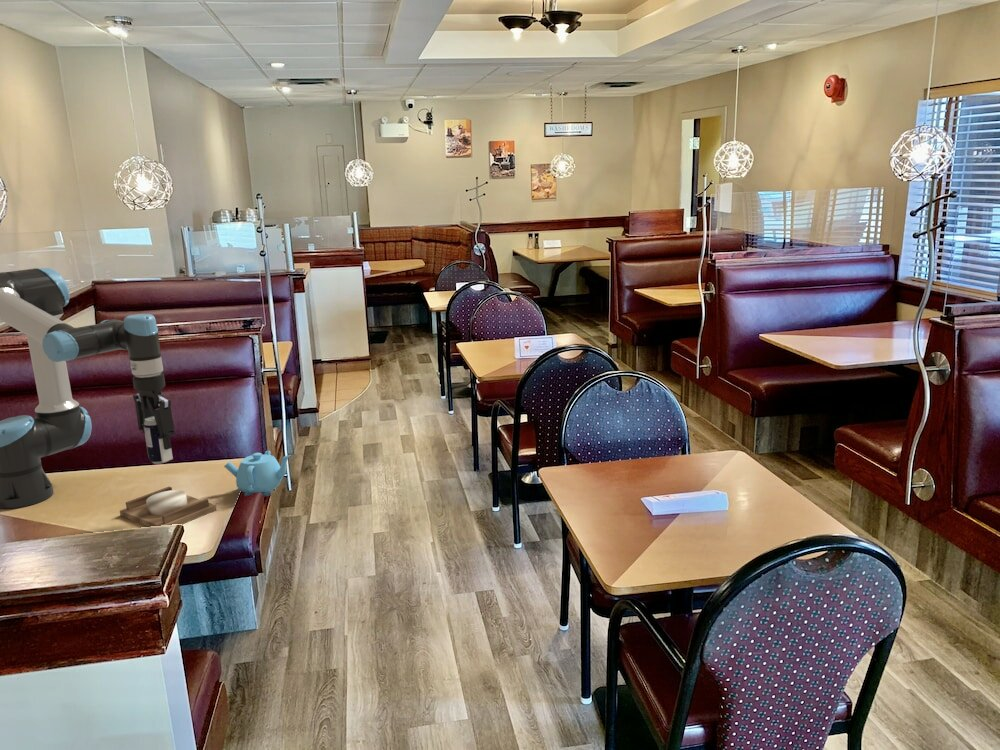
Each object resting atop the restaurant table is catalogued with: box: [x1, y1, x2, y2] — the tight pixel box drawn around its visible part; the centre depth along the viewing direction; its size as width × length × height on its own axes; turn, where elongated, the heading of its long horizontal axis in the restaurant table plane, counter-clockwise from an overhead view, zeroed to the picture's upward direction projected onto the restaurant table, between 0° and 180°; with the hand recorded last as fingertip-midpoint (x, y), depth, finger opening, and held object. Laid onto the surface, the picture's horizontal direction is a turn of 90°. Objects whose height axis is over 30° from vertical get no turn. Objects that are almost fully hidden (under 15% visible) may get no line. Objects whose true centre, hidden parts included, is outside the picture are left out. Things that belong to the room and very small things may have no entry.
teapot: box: [224, 450, 292, 497], centre depth 223 cm, size 15×14×11 cm
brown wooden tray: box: [119, 486, 217, 527], centre depth 210 cm, size 20×16×4 cm
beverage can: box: [144, 416, 170, 465], centre depth 205 cm, size 6×6×12 cm
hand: (160, 458), depth 207 cm, fingers closed on beverage can, 6 cm apart
